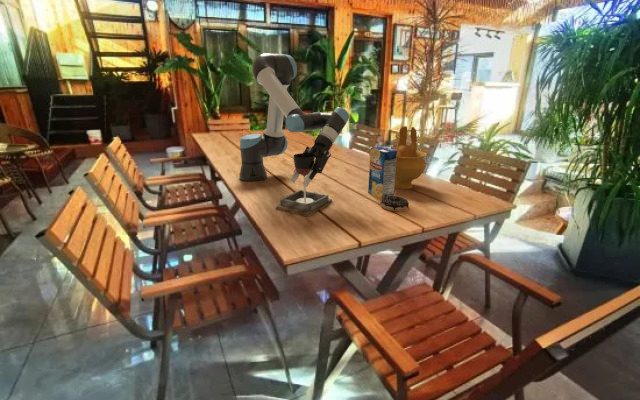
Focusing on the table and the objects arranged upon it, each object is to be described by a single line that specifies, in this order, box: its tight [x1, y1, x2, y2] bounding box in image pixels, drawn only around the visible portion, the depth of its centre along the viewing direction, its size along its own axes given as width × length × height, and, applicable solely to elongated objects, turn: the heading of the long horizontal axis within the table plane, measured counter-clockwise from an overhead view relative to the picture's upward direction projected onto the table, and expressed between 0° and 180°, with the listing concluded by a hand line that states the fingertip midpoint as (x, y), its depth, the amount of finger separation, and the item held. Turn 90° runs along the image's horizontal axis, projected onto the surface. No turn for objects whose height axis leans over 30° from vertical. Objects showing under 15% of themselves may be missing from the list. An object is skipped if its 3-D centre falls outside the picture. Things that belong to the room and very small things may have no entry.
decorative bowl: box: [392, 125, 427, 190], centre depth 166 cm, size 21×21×30 cm
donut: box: [379, 195, 410, 212], centre depth 141 cm, size 11×12×4 cm
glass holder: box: [275, 189, 333, 218], centre depth 143 cm, size 16×20×4 cm
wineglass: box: [293, 152, 316, 204], centre depth 140 cm, size 8×9×20 cm
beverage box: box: [367, 146, 397, 201], centre depth 153 cm, size 7×11×22 cm, turn 26°
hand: (298, 182), depth 138 cm, fingers closed on wineglass, 7 cm apart
